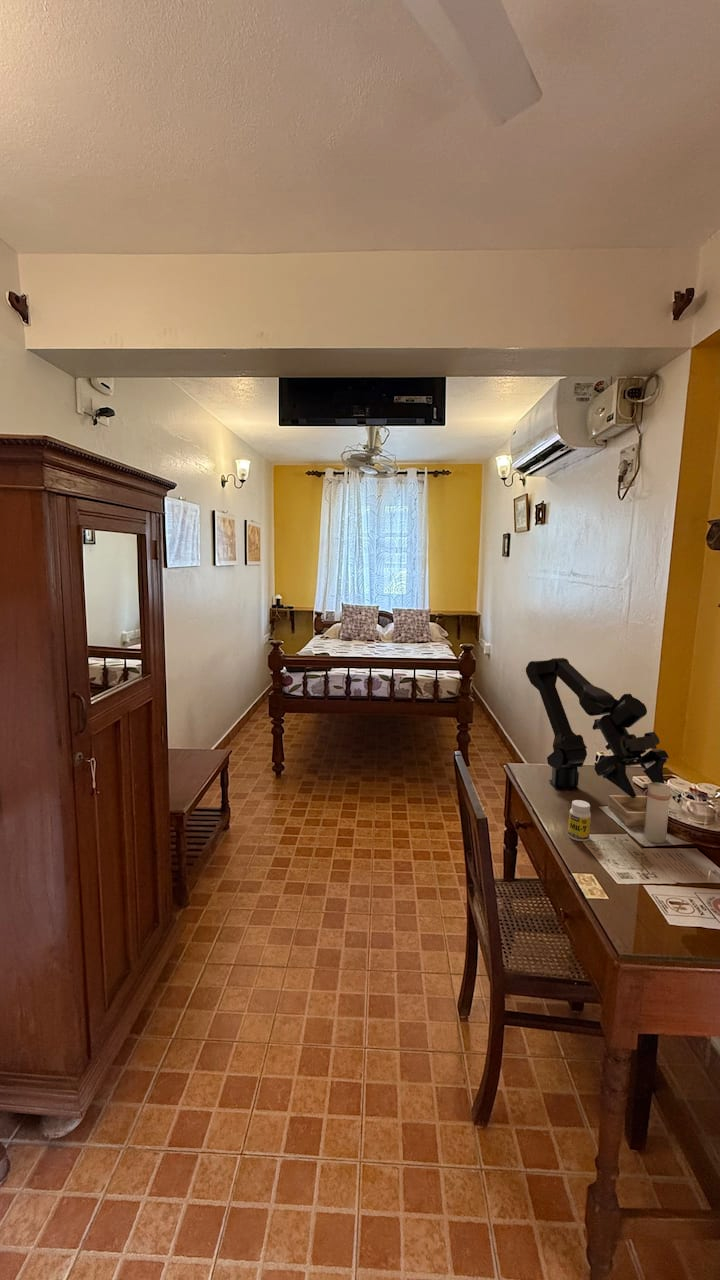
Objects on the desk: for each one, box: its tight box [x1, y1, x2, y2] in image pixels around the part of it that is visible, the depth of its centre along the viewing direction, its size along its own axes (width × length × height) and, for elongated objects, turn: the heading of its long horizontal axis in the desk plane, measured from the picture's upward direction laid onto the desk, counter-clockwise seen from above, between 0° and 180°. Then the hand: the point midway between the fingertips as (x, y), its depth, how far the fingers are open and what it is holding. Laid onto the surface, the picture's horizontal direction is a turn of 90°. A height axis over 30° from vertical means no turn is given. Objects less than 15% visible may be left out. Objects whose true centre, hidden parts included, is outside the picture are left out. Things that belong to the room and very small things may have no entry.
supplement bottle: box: [567, 799, 592, 842], centre depth 130 cm, size 5×5×8 cm
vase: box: [643, 781, 672, 844], centre depth 129 cm, size 5×5×13 cm
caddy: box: [607, 794, 647, 827], centre depth 141 cm, size 10×10×4 cm
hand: (649, 794), depth 131 cm, fingers open, 9 cm apart
